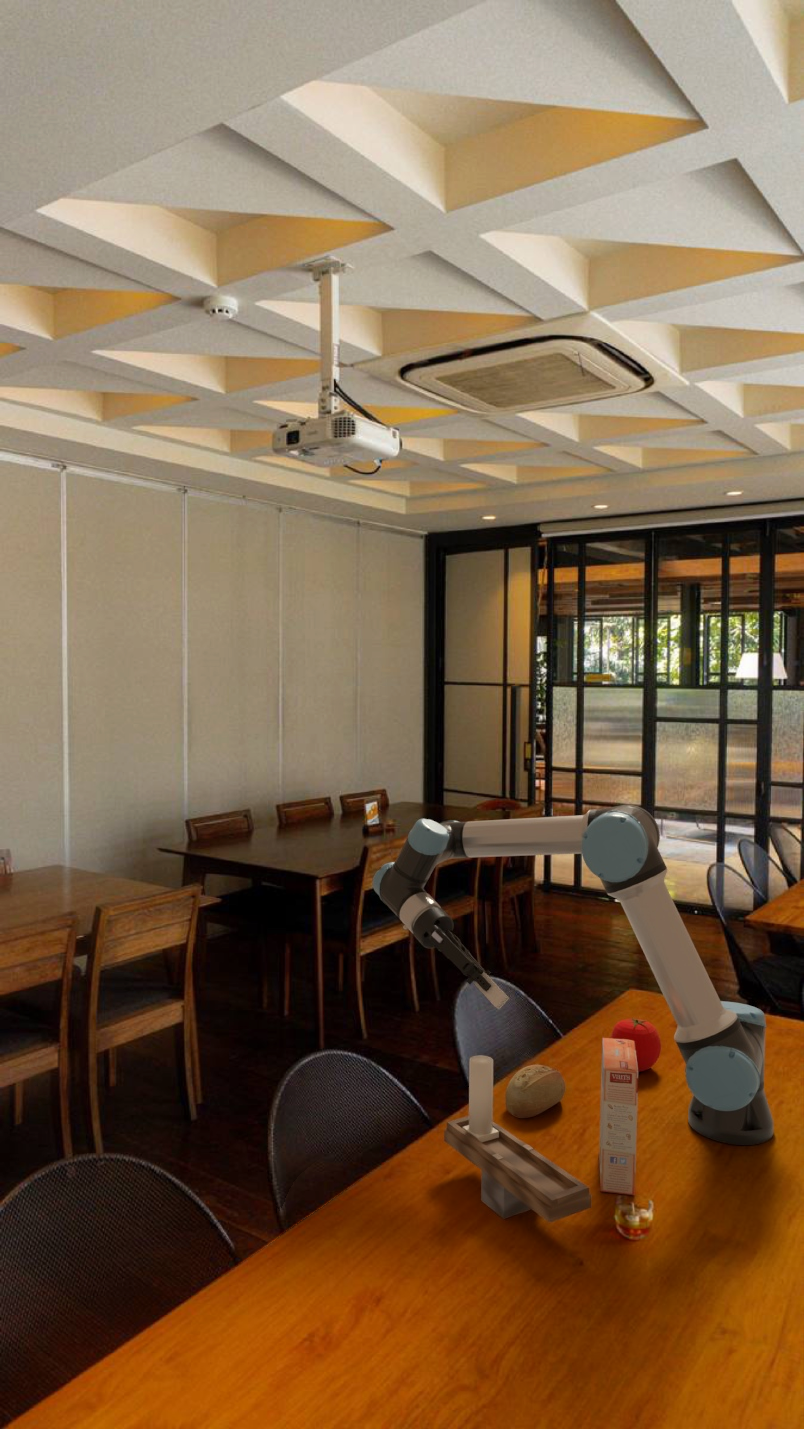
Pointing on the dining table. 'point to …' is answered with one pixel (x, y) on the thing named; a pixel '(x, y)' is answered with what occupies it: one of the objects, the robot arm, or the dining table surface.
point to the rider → (481, 1099)
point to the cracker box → (618, 1116)
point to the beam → (518, 1175)
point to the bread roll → (534, 1090)
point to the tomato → (640, 1040)
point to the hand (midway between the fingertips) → (502, 1002)
